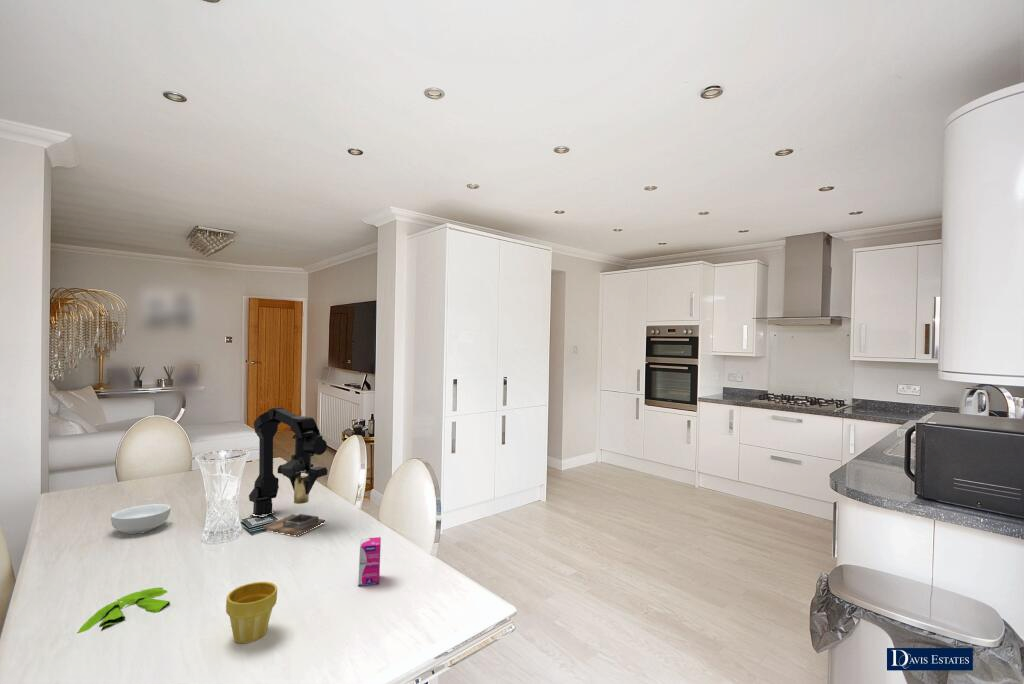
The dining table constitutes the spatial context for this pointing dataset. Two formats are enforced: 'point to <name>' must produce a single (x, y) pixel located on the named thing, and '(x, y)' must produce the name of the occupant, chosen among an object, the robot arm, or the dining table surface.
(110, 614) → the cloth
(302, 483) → the solid brass cylinder
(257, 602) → the plant pot
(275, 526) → the jig
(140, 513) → the cereal bowl
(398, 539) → the dining table surface
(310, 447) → the robot arm
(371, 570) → the supplement box
